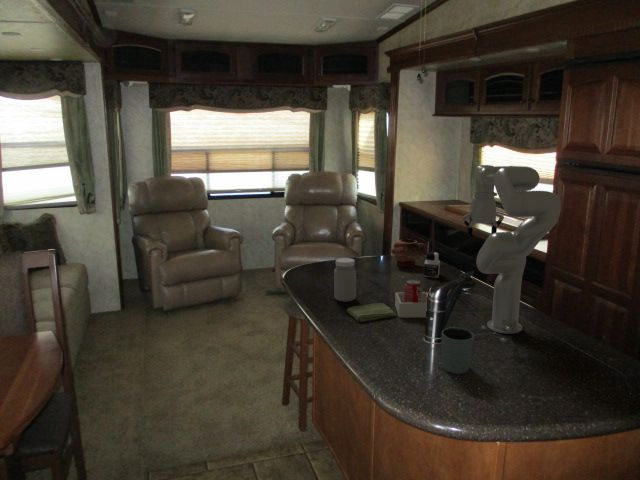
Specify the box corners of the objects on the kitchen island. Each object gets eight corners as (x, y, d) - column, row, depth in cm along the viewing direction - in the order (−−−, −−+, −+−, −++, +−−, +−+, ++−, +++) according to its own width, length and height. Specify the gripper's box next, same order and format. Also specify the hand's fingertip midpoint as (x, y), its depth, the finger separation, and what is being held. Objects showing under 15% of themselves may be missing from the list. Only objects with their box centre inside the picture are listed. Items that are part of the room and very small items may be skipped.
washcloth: (397, 317, 216) (397, 310, 216) (358, 324, 210) (358, 316, 210) (382, 307, 228) (382, 300, 228) (345, 313, 222) (344, 305, 222)
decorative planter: (420, 261, 298) (421, 236, 295) (430, 266, 287) (431, 241, 284) (387, 263, 293) (387, 239, 290) (395, 269, 282) (396, 244, 279)
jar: (359, 300, 236) (360, 261, 232) (339, 303, 232) (339, 264, 228) (350, 294, 244) (350, 256, 240) (330, 297, 241) (330, 258, 237)
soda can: (420, 306, 225) (421, 279, 222) (421, 312, 218) (422, 284, 215) (403, 305, 226) (404, 278, 223) (404, 311, 219) (404, 283, 216)
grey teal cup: (448, 358, 179) (450, 324, 177) (477, 366, 173) (479, 332, 170) (434, 369, 172) (435, 334, 169) (464, 378, 165) (466, 342, 163)
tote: (432, 317, 215) (433, 303, 214) (399, 317, 216) (399, 303, 214) (426, 305, 229) (427, 292, 227) (395, 305, 229) (395, 292, 228)
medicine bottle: (423, 276, 269) (424, 253, 266) (425, 273, 276) (426, 250, 273) (438, 278, 267) (439, 254, 264) (439, 274, 274) (440, 251, 271)
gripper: (501, 194, 222) (499, 234, 226) (460, 194, 222) (458, 234, 226) (508, 196, 215) (505, 238, 219) (465, 197, 215) (463, 238, 218)
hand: (481, 236), depth 222 cm, fingers open, 9 cm apart
